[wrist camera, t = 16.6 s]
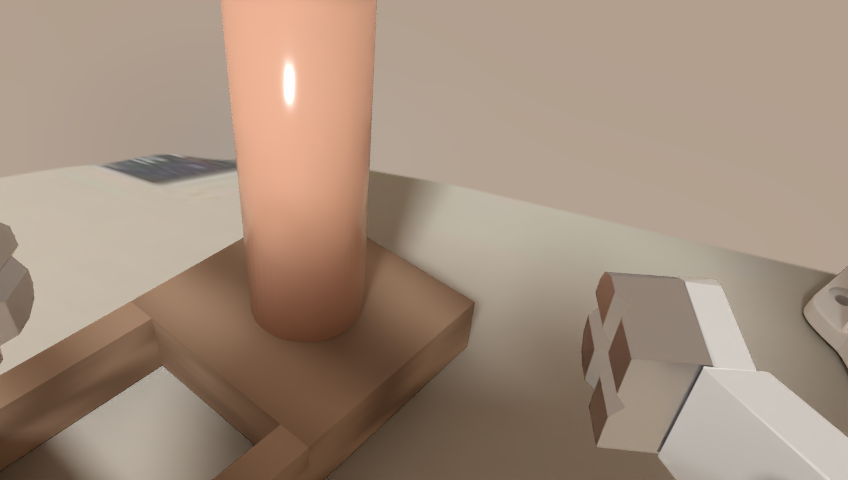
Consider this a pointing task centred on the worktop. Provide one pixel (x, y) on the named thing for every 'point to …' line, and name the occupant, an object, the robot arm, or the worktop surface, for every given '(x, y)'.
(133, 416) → the worktop surface
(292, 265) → the peach cylinder
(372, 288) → the partly covered box
